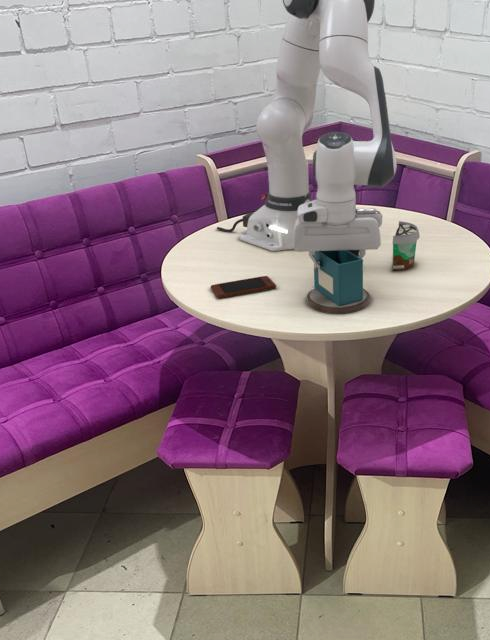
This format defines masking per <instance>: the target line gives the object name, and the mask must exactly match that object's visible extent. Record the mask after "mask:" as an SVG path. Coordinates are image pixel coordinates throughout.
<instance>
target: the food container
mask: <svg viewBox="0 0 490 640" xmlns="http://www.w3.org/2000/svg"><path fill="white" fill-rule="evenodd" d="M420 237H421V236H420V230H419V228H418V226H417V225H416V224H414V223H411V222H409V221H401V220H400V221H398V227H397V229H396V231H395V234H394V235H392V272H405V271H409V270H411V269H413V268H414V266H415V259H416V249H417V242H418V240H419V239H420Z"/></svg>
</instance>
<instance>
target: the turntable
mask: <svg viewBox="0 0 490 640" xmlns="http://www.w3.org/2000/svg"><path fill="white" fill-rule="evenodd" d="M370 295H371V294H370V293H369V291H368V290H366V288H364V287H363V300H360V301H356V302H352V303H348V304H344V305H340V306H338V305H337V304H336V303H334V302H333V301H332V300H330V299H329V298H327V297H326V296H325V295H323V294H322V293H321V292H319V291H318V290H317V289H315V287H313V288H312V289H311V290H309V291H308V293H307V294H306V301H307V302H306V303H307V305H308V306H309V307H310V308H311V309H313V310H314V311H318V312H320V313H324V314H334V315H335V314H336V315H340V314H341V315H343V314H350V313H354V312H358V311H362V310H363V309H364V308H366V307H367V306H369V303H370V300H371V296H370Z"/></svg>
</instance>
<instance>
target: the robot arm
mask: <svg viewBox="0 0 490 640" xmlns="http://www.w3.org/2000/svg"><path fill="white" fill-rule="evenodd" d="M375 3H376V2H375V0H282V4H283V7H284V8H285V10H286V12H287V13H288V16H287V19H286V22H285V26H284V29H283V33H282V37H281V41H280V48H279V51H278V57H277V61H276V64H275V76H276V80H275V81H276V82H275V92H274V93H275V94H274V98H273V100H272V102H271V103H269V104H267V105H266V106H264V108H263V109H262V110H261V111H260V114H259V115H258V118H257V120H256V125H255V126H256V127H255V128H256V134H257V136H258V138H259V140H260V141H261V144H262V149H263V151H264V156H265V160H266V166H267V176H268V177H267V178H268V191H266V192H265V193H264V194H262V195H261V197H262V198H261V200H264V199H265V201H264V204H263V205H261V207H259V208H258V209H257V210H255V211H250V212H248V213H246V214H245V215H243V216H242V218H240V219H238V220H236V221H235V222H234V223H233V225H232V227H231V228H230V229H228V228H227V229H226V228H224V227H220V226H217V227H216V230H218V231H221V232H225V233H232V232H234V231H235V229H236V227H237V226H238V224H240V223H242V227H244V228H246V230H244V231H242V232H241V233H240V235H239V240H240V241H242V242H245V243H248V244H251V245H254V246H257V247H259V248H262V249H266V250H268V251H271V252H278V251H285V250H294V251H295V252H296V253H297V252H299V253H303V252H308V256H309V258H310V259H311V261H312V262H313V270H314V269H316V268H320V259H316V257H315V256H314V255H315V251H337V250H359V256H358V257H359V258H361V259H363V260H364V257H365V255H366V250H367V251H369V250H378V249H379V248H380V247H381V245H382V241H381V240H382V239H381V231H380V230H381V229H380V227H381V226H382V225H383V214H382V212H381V211H379V210H378V209H376V208H373V207H372V208H357V195H356V194H357V193H356V190H355V186H367V187H373V188H374V187H375V188H384V187H385V186H386V185H388V184H389V183H390V182H391V181H392V180H393V179H394V178H395V176H396V172H397V167H398V166H397V157H396V152H395V149H394V146H393V141H392V138H391V137H392V136H391V127H390V125H391V124H390V118H389V111H388V109H389V108H388V103H387V97H386V95H387V94H386V91H385V84H384V79H383V75H382V71H381V70H380V68H379V67H377V66H375V65H374V64H373V62H372V60H371V57H370V53H369V24H368V23H369V22H370V20H371V19H372V16H373V14H374V10H375ZM320 72H322V73H323V75H324V76H325V77H326V78H327V79H328V80H329V81H330V82H331V83H333V84H334V85H336V86H337V87H339V88H342V89H344V90H346V91H349V92H352V93H354V94H356V95H357V96H360V97H361V98H363V99H364V100H365V101H366V102H367V104H368V106H369V113H370V119H371V127H372V134H373V135H372V136H373V138H372V139H371V140H367V141H366V140H365V141H364V140H353V137H352V135H350V134H348V133H345V132H341V131H332V132H327V133H324V134H322V135H321V136H319V138H318V140H317V145H316V150H315V151H314V152H313V155H312V171H313V172H312V173H313V174H312V175H313V177H314V179H315V182H316V184H317V191H316V194H315V195H316V196H315V198H316V199H313V200H312V195H311V190H310V179H309V176H310V175H309V162H308V159H307V157H306V155H305V154H306V153H305V150H304V146H303V145H304V144H303V135H304V134H305V133H306V132H307V131H308V130H309V128H310V127H311V125H312V122H313V118H314V111H315V110H314V109H315V104H316V103H315V102H316V97H317V96H316V95H317V86H318V81H319V76H320Z"/></svg>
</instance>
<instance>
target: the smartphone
mask: <svg viewBox="0 0 490 640" xmlns="http://www.w3.org/2000/svg"><path fill="white" fill-rule="evenodd" d="M276 288H277V285H276V284H275V282H273V280H272V279H271V278H270V277H269V276H268V275H262V276H256V277H251V278H244V279H238V280H233V281H225V282H220V283H215V284H211V285H210V289H211V291H212V292H213V293H214V295H215V297H216V298H218V299H222V298H229V297H233V296H240V295H245V294H250V293H257V292H262V291H269V290H273V289H276Z"/></svg>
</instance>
